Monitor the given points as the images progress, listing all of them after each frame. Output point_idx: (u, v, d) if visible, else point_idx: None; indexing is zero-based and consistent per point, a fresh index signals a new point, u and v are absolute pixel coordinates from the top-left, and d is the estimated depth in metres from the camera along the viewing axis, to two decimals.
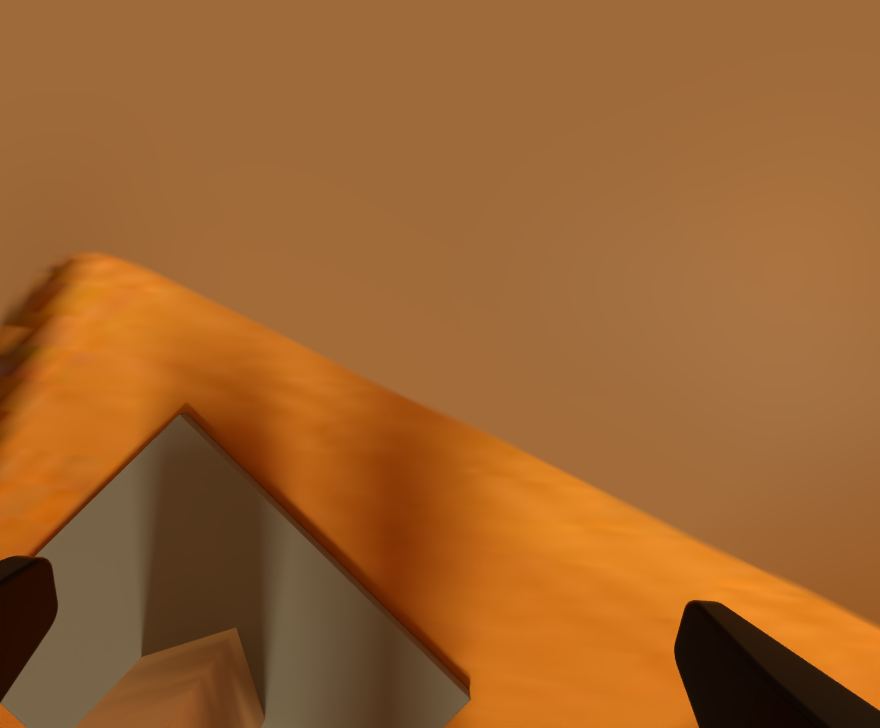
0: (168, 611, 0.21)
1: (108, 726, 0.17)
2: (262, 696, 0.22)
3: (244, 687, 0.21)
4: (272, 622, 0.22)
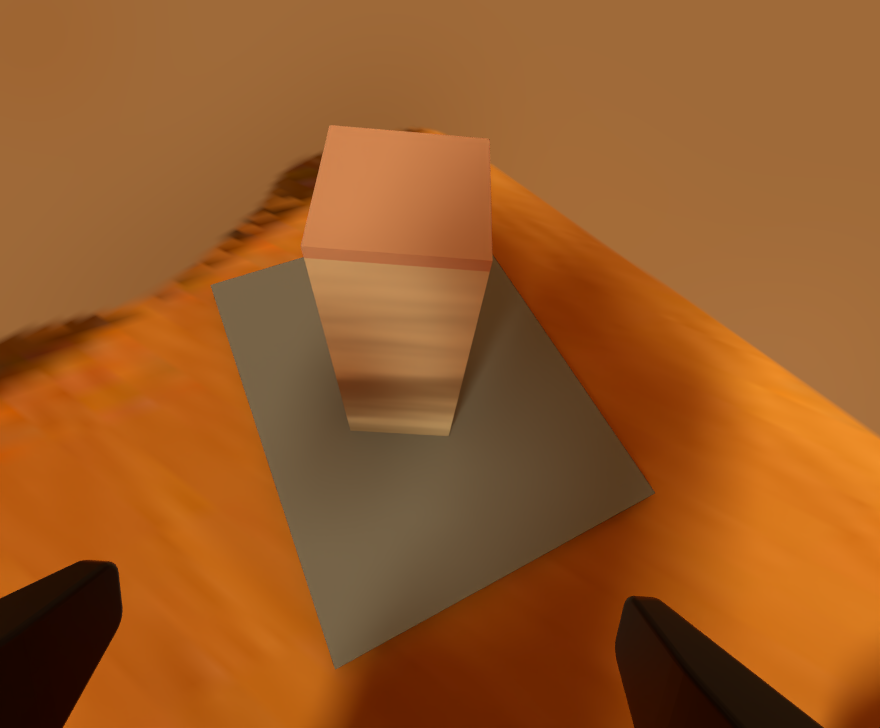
0: None
1: None
2: None
3: None
4: (483, 359, 0.24)
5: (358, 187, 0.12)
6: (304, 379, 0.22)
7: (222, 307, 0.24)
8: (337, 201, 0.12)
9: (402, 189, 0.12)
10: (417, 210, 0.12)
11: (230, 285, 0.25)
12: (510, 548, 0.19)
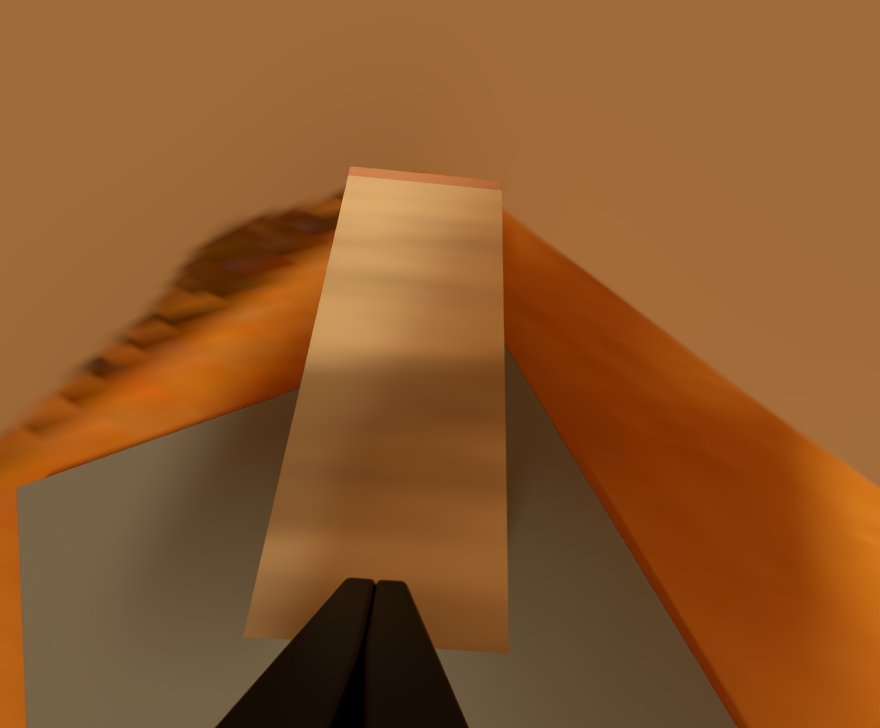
0: None
1: None
2: None
3: None
4: (538, 665, 0.12)
5: None
6: None
7: (28, 543, 0.12)
8: None
9: None
10: None
11: (55, 487, 0.13)
12: None
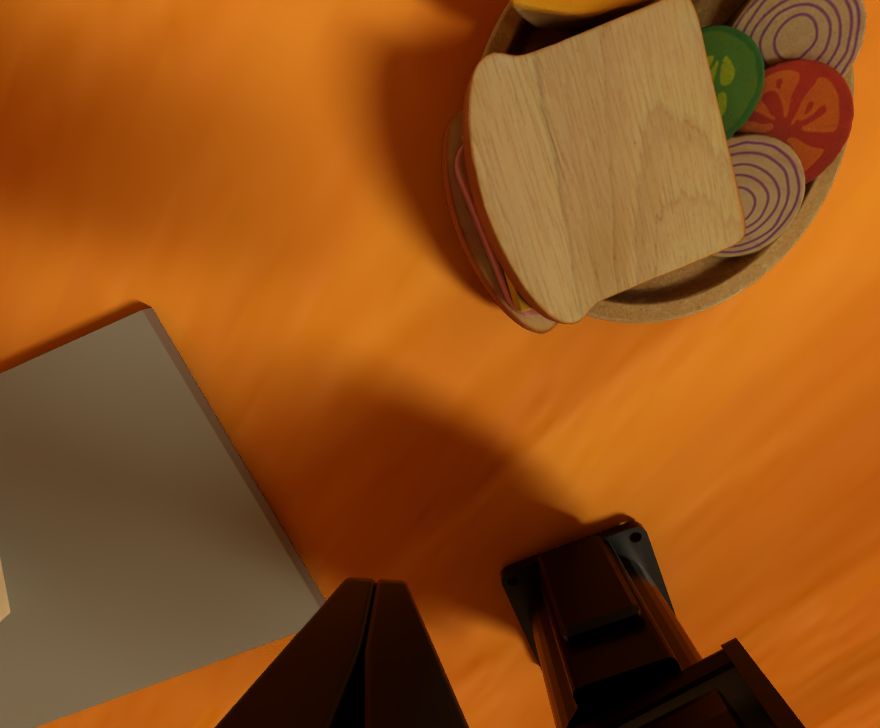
0: None
1: None
2: (81, 524, 0.19)
3: None
4: None
5: None
6: (67, 661, 0.21)
7: None
8: None
9: None
10: None
11: None
12: (221, 480, 0.19)
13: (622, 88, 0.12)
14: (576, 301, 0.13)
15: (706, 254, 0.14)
